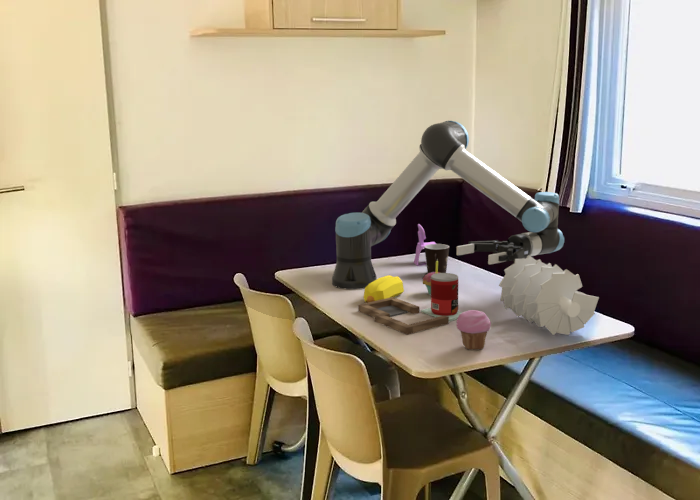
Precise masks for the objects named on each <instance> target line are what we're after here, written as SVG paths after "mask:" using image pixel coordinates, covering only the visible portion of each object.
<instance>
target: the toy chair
mask: <svg viewBox="0 0 700 500" xmlns="http://www.w3.org/2000/svg"><path fill="white" fill-rule="evenodd" d="M417 228H418V231H417V236H418V242H417V245H416V249H415V255H414V256H415V257H414V260H413V263H414V265H416V266H417V267H419V262H420V254H421V251H422V250H425V247H424V246H426V245H429V244H437V243H436V242H435V241H430V242H424V240H426V239H427V237H426V232H425V229H424V228H423V226H422V225H421V224H420V223H418V224H417Z"/></svg>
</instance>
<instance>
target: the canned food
mask: <svg viewBox="0 0 700 500" xmlns="http://www.w3.org/2000/svg"><path fill="white" fill-rule="evenodd" d="M430 308H431V311H432V313H433V314H436V315H440V316H450V315H455V314H456V313H457V312H458V311H459V275H457V274H454V273H451V272H450V273H448V272H446V273H437V274H433V275H432V276H431V295H430Z"/></svg>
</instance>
